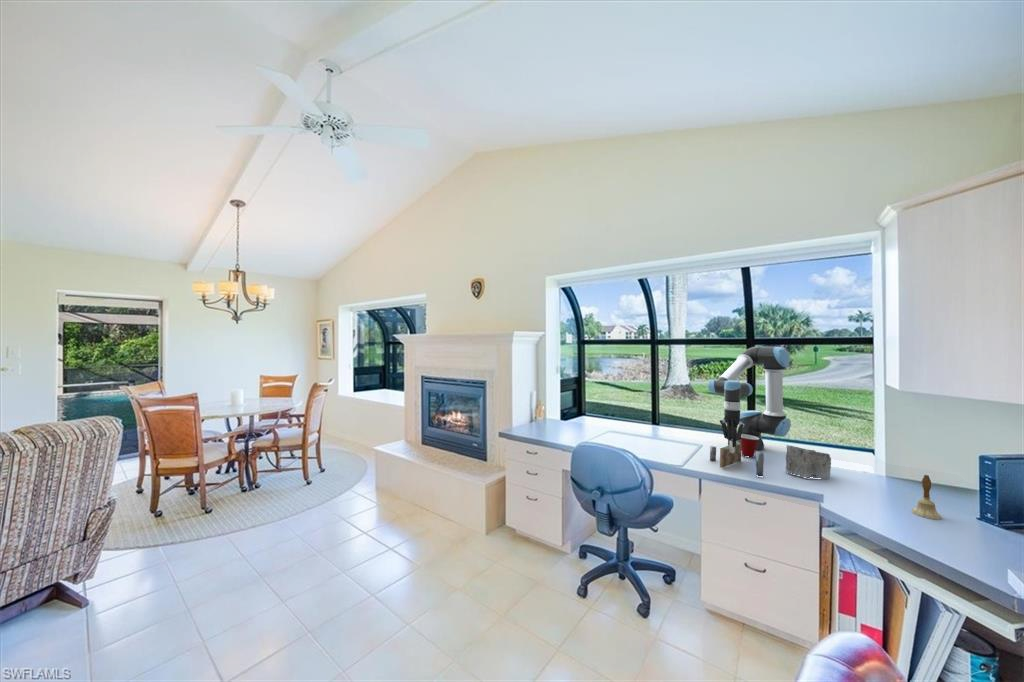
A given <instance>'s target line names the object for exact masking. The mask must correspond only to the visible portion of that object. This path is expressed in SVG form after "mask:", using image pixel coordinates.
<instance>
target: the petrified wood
mask: <svg viewBox="0 0 1024 682" xmlns="http://www.w3.org/2000/svg"><path fill="white" fill-rule="evenodd" d="M785 460H786V462H785V464H786V465H785V472H786V473H787V472H788V473H792V474H795V475H800V476H802V477H806V478H810V477H813V478H821V479H820V480H830V477H831V469H832V466H831V465H832V458H831V456H830V453H828V452H827V453H825V452H821V451H816V450H814V449H806V448H803V447H799V446H793V445H789V444H787V445H786V453H785ZM788 473H787V474H788ZM792 474H791V475H792ZM795 475H794V476H795ZM802 477H801V478H802Z"/></svg>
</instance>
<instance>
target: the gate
mask: <svg viewBox="0 0 1024 682" xmlns="http://www.w3.org/2000/svg"><path fill="white" fill-rule="evenodd" d="M719 450H720V451H719V468H721V469H723V468H726V467H728V466H731V465H733V464H736V463H740V462H739V461H740V443H736V447H735V452H734V453H729V446H728V445H726V446H723V447H721V448H720V449H719Z"/></svg>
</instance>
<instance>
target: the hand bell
mask: <svg viewBox="0 0 1024 682" xmlns="http://www.w3.org/2000/svg"><path fill="white" fill-rule="evenodd" d="M921 487H922V488H923V489H922V490H923V498H921V499H918V501H917V505H916V506H915V508H912V509H911V513H913V514H914V515H916V516H918V517H921V518H926V519H929V520H937V521H939V520H942V516H941V515H940V514H939V512H938V511H937V508H936V503H935V502H934V501H932V500H931V497H930V490H931V489H932V480H931V478H930V475H928V474H923V478H922V479H921Z"/></svg>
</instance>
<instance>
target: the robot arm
mask: <svg viewBox="0 0 1024 682" xmlns="http://www.w3.org/2000/svg"><path fill="white" fill-rule="evenodd" d="M790 362H791V357H790V354H789V351H788V349H786V348H785V347H782V346H753V347H749V348H747V349H746V350H745V349H744V351H742V352H741V353H740V354H739V355H738V356H737V357H736V360H735V361H734V362H733V363H732V364H731V365H730V366H729V367H728V368H727V369H726V370H725V371H724V372H723V373H722V374H721V375H720V376H719V377H718V378H717V379H711V380H709V381H708V382H707V389H708V391H709V393H713V394H718V395H719V394H720V395H724V399H723V401H724V402H723V403H724V412H723V415H724V416H723V419H720V420H719V423H720V424H721V429H722V433H723V437H724V439H726V440H727V446H729V453H734V452H735V447H736V441H738V440H740V438H741V435H742V434H746V435H751V436H755V437H758V438H759V440H758V442H757V445H756V449H755V451H763V450H764V449H765V444H764V441H763V438H762V434H764V435H769V436H774V437H782V438H783V437H786V436H787V435H788V433H789V432H790V430H791V420H790V418H788V417H787V414H786V413H785V412H784V392H783V391H784V389H783V388H784V385H783V383H784V382H783V372H784V371H786V368H787V367H789V365H790ZM753 366H762V367H761V368H762V370H763V371H764V372H765V410H764V411H763V412H762V411H761V410H742V411H741V410H740V409H741V398H742V397H743V398H745V397H748V396H751V395H752V394H753V391H754V388H753V386H752V385H751V384H750V383H748V382H740V380H738V378H739V377H740V376H742V374H743V373H744V372H746V370H747V369H750V368H752V367H753Z"/></svg>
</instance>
